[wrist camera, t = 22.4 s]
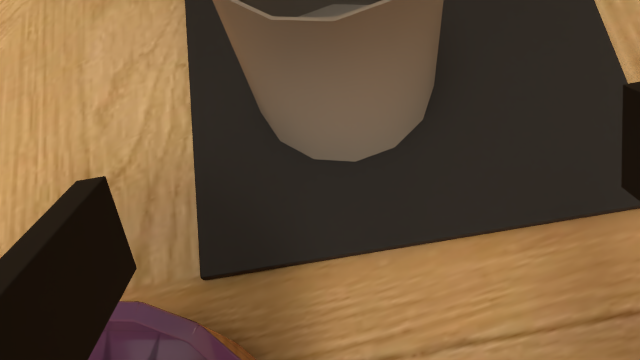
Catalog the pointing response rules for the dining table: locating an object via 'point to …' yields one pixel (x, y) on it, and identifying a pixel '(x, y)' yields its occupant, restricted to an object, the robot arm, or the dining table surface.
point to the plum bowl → (160, 337)
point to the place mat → (417, 144)
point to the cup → (337, 69)
